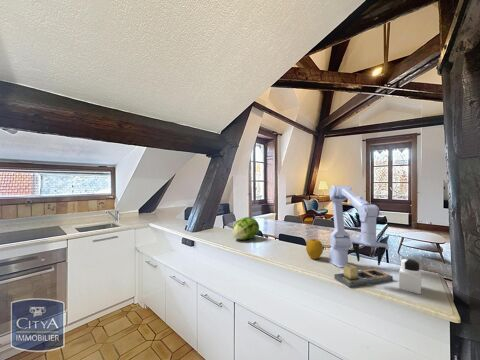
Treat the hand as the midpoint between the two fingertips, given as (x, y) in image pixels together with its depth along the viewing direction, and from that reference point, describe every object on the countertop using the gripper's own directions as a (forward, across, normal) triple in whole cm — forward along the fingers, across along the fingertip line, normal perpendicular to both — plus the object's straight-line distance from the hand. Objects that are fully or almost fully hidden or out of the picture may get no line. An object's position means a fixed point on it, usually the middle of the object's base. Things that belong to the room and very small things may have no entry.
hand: (368, 262), depth 92 cm
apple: (+10, -28, +21) cm, 36 cm away
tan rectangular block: (+10, -7, -1) cm, 12 cm away
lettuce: (+10, -85, +35) cm, 92 cm away
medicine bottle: (+10, +15, +6) cm, 19 cm away
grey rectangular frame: (+10, -2, +5) cm, 11 cm away
